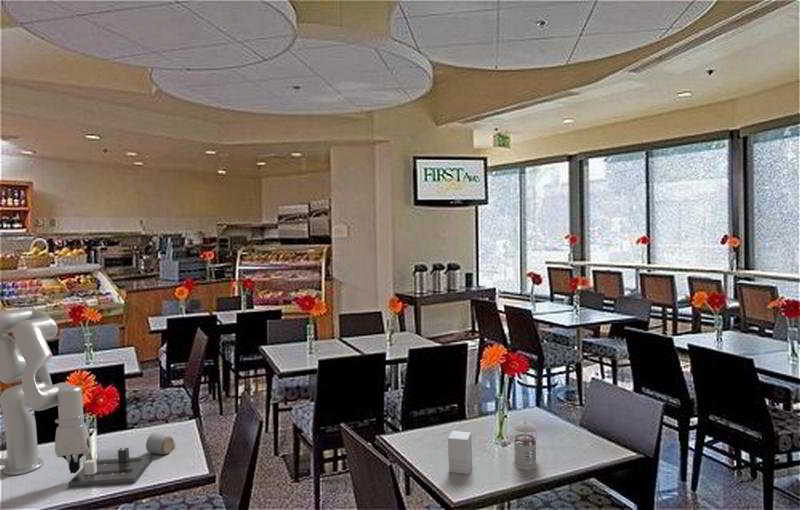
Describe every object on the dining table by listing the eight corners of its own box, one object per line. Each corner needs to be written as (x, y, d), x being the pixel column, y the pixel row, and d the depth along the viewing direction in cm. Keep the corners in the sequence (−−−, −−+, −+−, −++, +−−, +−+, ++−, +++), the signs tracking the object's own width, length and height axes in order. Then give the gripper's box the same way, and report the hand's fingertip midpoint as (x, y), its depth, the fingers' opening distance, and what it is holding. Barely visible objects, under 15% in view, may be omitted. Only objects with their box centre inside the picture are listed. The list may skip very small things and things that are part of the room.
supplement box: (472, 465, 205) (472, 432, 204) (468, 474, 198) (467, 439, 197) (453, 463, 207) (452, 430, 206) (448, 472, 200) (447, 437, 199)
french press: (506, 464, 205) (505, 397, 204) (523, 454, 214) (522, 389, 212) (530, 472, 199) (529, 403, 197) (546, 461, 207) (546, 394, 206)
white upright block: (85, 474, 200) (84, 462, 200) (88, 471, 202) (87, 459, 202) (94, 474, 200) (93, 461, 200) (97, 471, 203) (96, 458, 202)
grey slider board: (68, 488, 195) (68, 482, 195) (91, 465, 213) (90, 460, 213) (135, 483, 197) (134, 477, 197) (151, 461, 215) (151, 455, 215)
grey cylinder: (163, 457, 218) (162, 438, 218) (145, 455, 221) (144, 436, 220) (181, 447, 228) (180, 428, 228) (164, 445, 231) (163, 427, 230)
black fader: (118, 462, 210) (117, 450, 209) (120, 459, 212) (120, 447, 212) (126, 461, 210) (126, 449, 210) (129, 459, 212) (128, 447, 212)
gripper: (43, 426, 195) (47, 478, 196) (89, 423, 196) (92, 474, 198) (54, 419, 202) (57, 468, 203) (98, 416, 204) (101, 465, 205)
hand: (74, 471), depth 201 cm, fingers closed
